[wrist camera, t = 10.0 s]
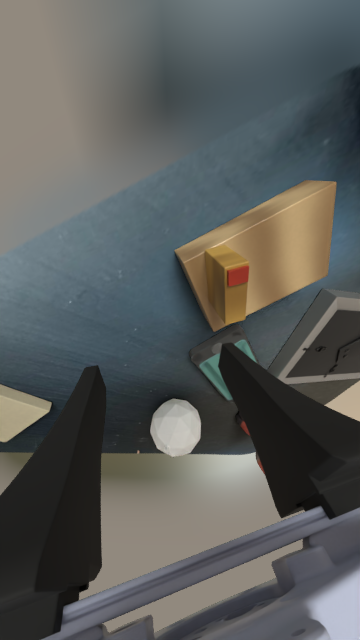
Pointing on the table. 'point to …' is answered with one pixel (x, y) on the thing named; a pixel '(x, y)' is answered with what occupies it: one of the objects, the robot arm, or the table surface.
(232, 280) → the thumb turn
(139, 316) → the table surface
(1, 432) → the box
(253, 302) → the brown flat block
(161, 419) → the ornament
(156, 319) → the table surface
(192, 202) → the table surface
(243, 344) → the smartphone
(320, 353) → the picture frame
